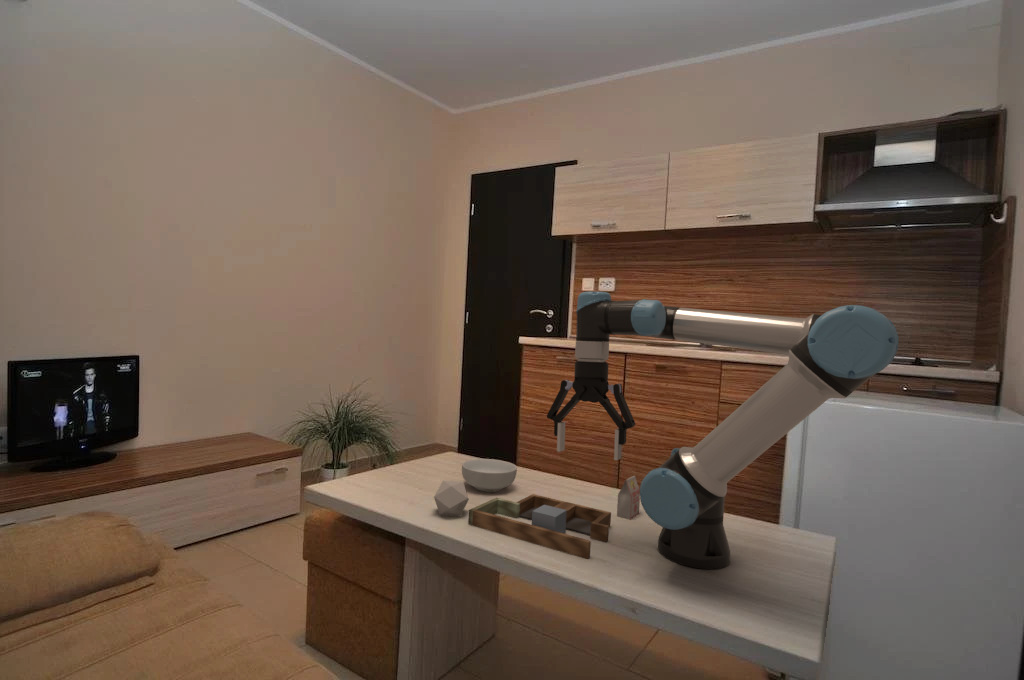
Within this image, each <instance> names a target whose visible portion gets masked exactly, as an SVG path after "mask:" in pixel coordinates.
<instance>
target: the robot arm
mask: <svg viewBox="0 0 1024 680" xmlns="http://www.w3.org/2000/svg"><path fill="white" fill-rule="evenodd" d="M576 305H577V307H576V310H575V314H576V331H575V332H576V335H575V351H574V353H575V354H574V359H577V360H575V362H574V378H573V379H574V380H573V381H570V380H569V379H565V380H564V379H563V380H561V382H560V386H559V388H560V389H559V390H558V393H557V394H556V396H555V398H554V400H553V402H552V404H551V407H550V408H549V410H548V413H547V415H546V418H547V419H549V420H552V421H553V423H554V425H553V426H554V428H553V435H554V436H555V437H556V438H557V439H556V452H557V453H561V452H564V451H565V450H566V449H565V447H566V444H565V443H566V421H564V419H565V418H566V417H567V415H569V414H570V412H571V411H572V410H573V409H574V407H575V406H577V405H578V403H579V402H586V403H587V402H590V403H594V404H595V403H599V404H600V405H601V406H602V407H603V409H604V410H605V411H606V413H607V414H608V416H609V417H610V419H612V421H613V423H614V424H615V425H616V427H617V428H616V429H615V430H614V449H613V451H614V452H613V453H614V454H613V460H614V461H619V460H621V459H622V447H623V445H626V443H627V430H628V429H632V428H633V427H636V422H635V420H634V416H633V415H632V412H631V410H630V408H629V406H628V402H627V401H626V399H625V397H624V394H623V385H622V384H621V383H615V384H609V381H608V380H609V363H608V362H607V360H609V356H610V355H609V354H610V353H609V352H610V336H611V335H613V336H617V335H618V336H619V335H621V336H622V335H623V336H638V337H639V336H640V337H646V338H647V337H651V338H656V339H665V340H673V341H674V340H675V341H682V342H690V343H697V344H704V345H713V346H719V347H720V346H721V347H725V348H727V347H728V348H735V349H743V350H750V351H758V352H763V353H764V352H765V353H773V354H779V355H787V356H788V361H787V363H786V365H784V366H783V367H782V368H781V369H780V370H778V371H777V372H776V373H775V374H774V375H773V376H771V378H770V379H768V380H767V381H766V382H765V383H764V384H763V385H762V386H761V387H760V388H759V389H757V390H756V391H755V392H754V393H753V394H752V395H750V396H749V397H748V399H746V400H745V401H744V402H743V403H741V404H740V405H739V407H737V408H736V409H735V410H734V411H733V412H731V413H730V414H729V416H727V417H726V418H725V419H724V420H723V421H722V422H720V423H719V424H718V425H717V426H716V427H715V428H714V429H713V430H711V431H710V432H709V433H708V434H707V435H706V436H705V437H704V438H703V439H702V440H700V441H699V442H698V443H697V444H696V445H695V446H693V447H691V446H682V447H673V449H672V450H671V452H670V454H671V455H670V456H669V458H668V459H667V460H665V461H664V462H663V463H662V464H661V465H660V466H659V467H657V468H654V469H652V470H650V471H649V472H647V474H646V475H645V476H644V477H643V479H642V480H641V483H640V487H639V490H640V504H641V506H642V509H643V510H644V513H646V515H647V516H648V518H650V519H651V520H652V522H654V523H655V524H657V525H658V526H660V527H661V528H662V529H661V530H660V533H659V535H658V539H657V551H658V552H659V554H661V556H663V557H664V558H666V559H668V560H669V561H672V562H674V563H677V564H679V565H682V566H686V567H690V568H695V569H705V570H716V569H721V568H725V567H727V566H728V565H729V564H730V562H731V549H730V544H729V542H728V538H727V534H726V530H725V527H724V514H725V499H726V498H725V497H726V495H727V493H728V482H730V481H731V480H732V479H733V478H734V477H736V476H737V475H738V474H740V473H741V472H742V471H744V469H745V468H747V467H748V466H749V465H751V464H752V463H753V462H754V461H755V460H756V459H758V458H759V457H760V456H761V455H763V454H764V453H765V452H766V451H767V450H768V449H770V448H771V447H772V446H774V444H776V443H777V442H778V441H779V440H781V439H782V438H783V437H785V435H786V434H788V433H789V432H790V431H792V430H793V429H794V428H795V427H797V425H799V424H800V423H802V422H803V421H804V420H805V419H806V418H807V417H809V416H810V415H811V414H812V413H813V412H815V411H816V410H817V409H819V407H821V406H822V405H823V404H825V402H827V401H828V400H830V399H846V398H848V397H849V396H851V394H853V393H854V392H855V391H856V390H857V389H859V388H860V387H861V386H862V385H863V384H865V383H866V382H867V381H868V380H869V379H871V378H872V377H874V375H876V374H878V373H880V372H881V371H883V370H884V369H886V368H887V367H888V366H890V364H891V363H892V361H893V360H894V358H895V356H896V354H897V352H898V348H899V334H898V332H897V329H896V327H895V325H894V323H893V322H892V321H891V320H890V319H889V318H887V316H886V315H885V314H883V313H881V312H880V311H878V310H877V309H875V308H871V307H869V306H864V305H859V304H849V305H848V304H847V305H840V306H837V307H835V308H832V309H831V310H828V311H825V312H824V313H823V314H814V313H812V314H810V315H809V316H807V317H806V318H804V317H803V318H800V317H790V316H778V315H771V314H770V315H766V314H755V313H746V312H745V313H743V312H736V311H723V310H713V309H712V310H711V309H704V308H703V309H702V308H701V309H700V308H691V307H677V306H669V305H668V306H667V305H663V302H661V300H657V299H644V298H643V299H637V300H635V299H633V300H612V295H611V294H610V293H609V292H606V291H583V292H581V293H579V295H578V296H577V304H576ZM572 388H573V390H574V392H575V393H574V394H573V395H572V396H571V398H570V400H569V401H568V402H567V403H565V405H564V406H563V407H562V409H561V410H560V408H561V406H562V405H563V403H564V401H565V398H566V397H567V396H568V393H569V391H570V390H572ZM609 390H610V393H611V394H613V396H614V399H615V403H616V404H617V406H618V408H619V411H620V413H621V415H622V416H621V415H620V413H619V412H618V410H617V409H616V407H615V406H614V405H613V404H612V402H611V400H610V398H609V397H608V396H607V394H608V392H609Z"/></svg>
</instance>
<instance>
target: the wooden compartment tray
mask: <svg viewBox="0 0 1024 680" xmlns="http://www.w3.org/2000/svg"><path fill="white" fill-rule="evenodd" d="M543 505H548V506H552V507H556V508H560V509H564V510H567V513H566V531H571V532H573V533H577V534H582V535H585V536H589V538H590V539H593V540H597V541H600V542H605V543H608V541H609V537H610V536H609V534H610V528H611V522H612V512H610V511H607V510H602V509H597V508H594V507H589V506H585V505H581V504H578V503H577V504H576V503H574V502H573V503H572V502H567V501H564V500H560V499H555V498H551V497H547V496H542V495H538V494H534V493H532V494H530V495H528V496H527V497H526V496H525V498H522V499H520V500H518V501H511V500H508V499H503V498H501V497H500V498H499V497H495V498H492V499H490V500H488V501H486V502H483V503H482V504H479V505H477V506H475V507H472V508H470V509H469V510H468V519H467V520H468V521H467V525H469V526H472V525H473V527H476V528H480V529H483V530H486V531H490V532H493V533H497V534H500V535H504V536H507V537H509V538H510V537H511V538H514V539H518V540H521V541H524V542H527V543H531V544H535V545H538V546H542V547H545V548H547V549H548V548H549V549H551V550H554V551H555V550H556V551H559V552H562V553H566V554H569V555H572V556H576V557H579V558H583V559H587V560H588V559H590V558H591V545H592V540H589V539H587V538H582V537H578V536H575V535H571V534H567V533H565V534H564V533H560V532H556V531H553V530H549V529H545V528H542V527H538V526H534V525H532V523H531V524H530V523H526V522H523V521H518V520H514V519H518V518H522V519H524V520H529V521H532V511H533V510H535V509H537V508H539V507H541V506H543ZM497 514H499V515H497ZM500 515H503V516H500ZM505 516H506V517H505ZM508 517H511V518H508ZM512 518H514V519H512Z"/></svg>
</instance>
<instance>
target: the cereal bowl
mask: <svg viewBox="0 0 1024 680" xmlns="http://www.w3.org/2000/svg"><path fill="white" fill-rule="evenodd" d="M517 469H518V467H517V465H516V464H514V463H512V462H509V461H504V460H500V459H494V458H491V459H490V458H474V459H473V458H472V459H468V460H465V461H464V462H463V463H462V464H461V474H462V478H463V480H464V481H465V482H466V484H469V486H472V487H473V488H475V489H476V490H478V491H480V492H486V493H487V492H489V493H493V492H499V491H500V490H502V489H504V488H508V487H509V486H511V485H513V483H514V481H515V480H516V477H517Z"/></svg>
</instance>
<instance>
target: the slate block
mask: <svg viewBox="0 0 1024 680" xmlns="http://www.w3.org/2000/svg"><path fill="white" fill-rule="evenodd" d="M566 513H567V510H564V509H560V508H556V507H552V506H548V505H543V506H541V507H539V508H537V509H535V510H533V511H532V520H531V525H534V526H538V527H542V528H545V529H549V530H553V531H556V532H560V533H564V534H566V531H567V530H566Z"/></svg>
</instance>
